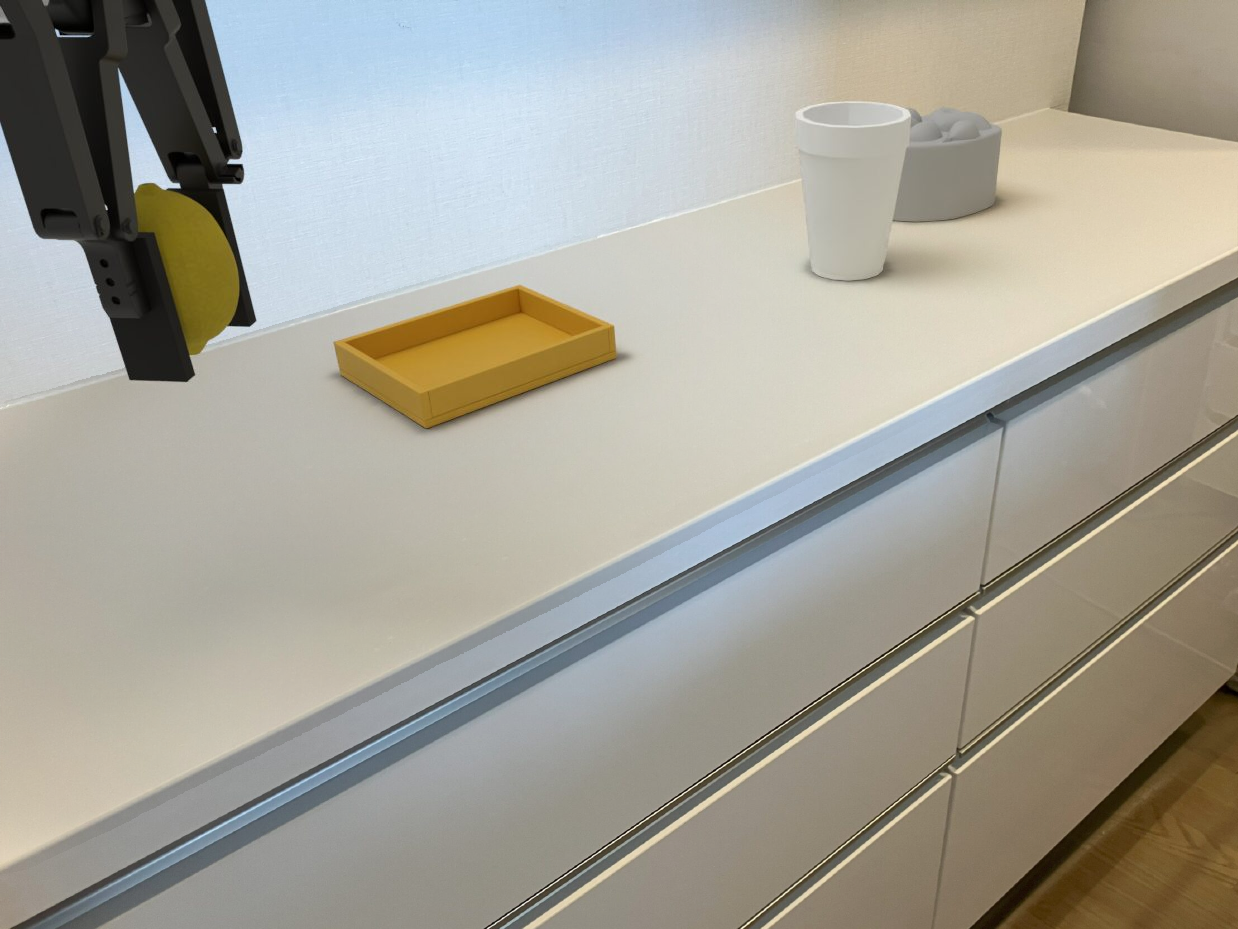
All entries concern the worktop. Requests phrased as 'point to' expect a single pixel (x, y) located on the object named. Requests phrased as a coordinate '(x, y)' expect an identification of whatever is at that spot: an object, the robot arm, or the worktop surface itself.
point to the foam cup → (850, 183)
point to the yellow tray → (474, 353)
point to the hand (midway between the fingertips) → (196, 348)
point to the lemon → (191, 261)
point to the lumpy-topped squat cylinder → (948, 166)
